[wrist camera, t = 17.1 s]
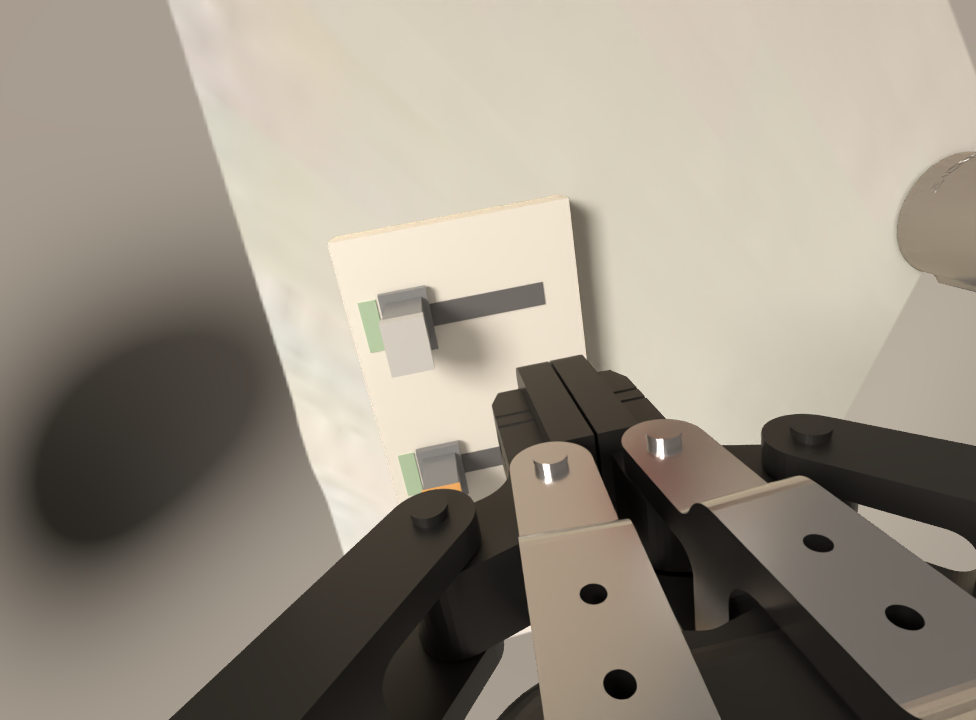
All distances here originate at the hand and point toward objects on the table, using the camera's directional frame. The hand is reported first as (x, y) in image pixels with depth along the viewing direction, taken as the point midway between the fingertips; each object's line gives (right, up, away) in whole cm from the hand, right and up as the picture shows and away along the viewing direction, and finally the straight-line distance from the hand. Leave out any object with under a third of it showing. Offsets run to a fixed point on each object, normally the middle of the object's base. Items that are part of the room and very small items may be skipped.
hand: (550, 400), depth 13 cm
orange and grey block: (-5, -7, +30) cm, 31 cm away
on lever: (-7, +4, +25) cm, 27 cm away
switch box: (-2, 0, +31) cm, 31 cm away
